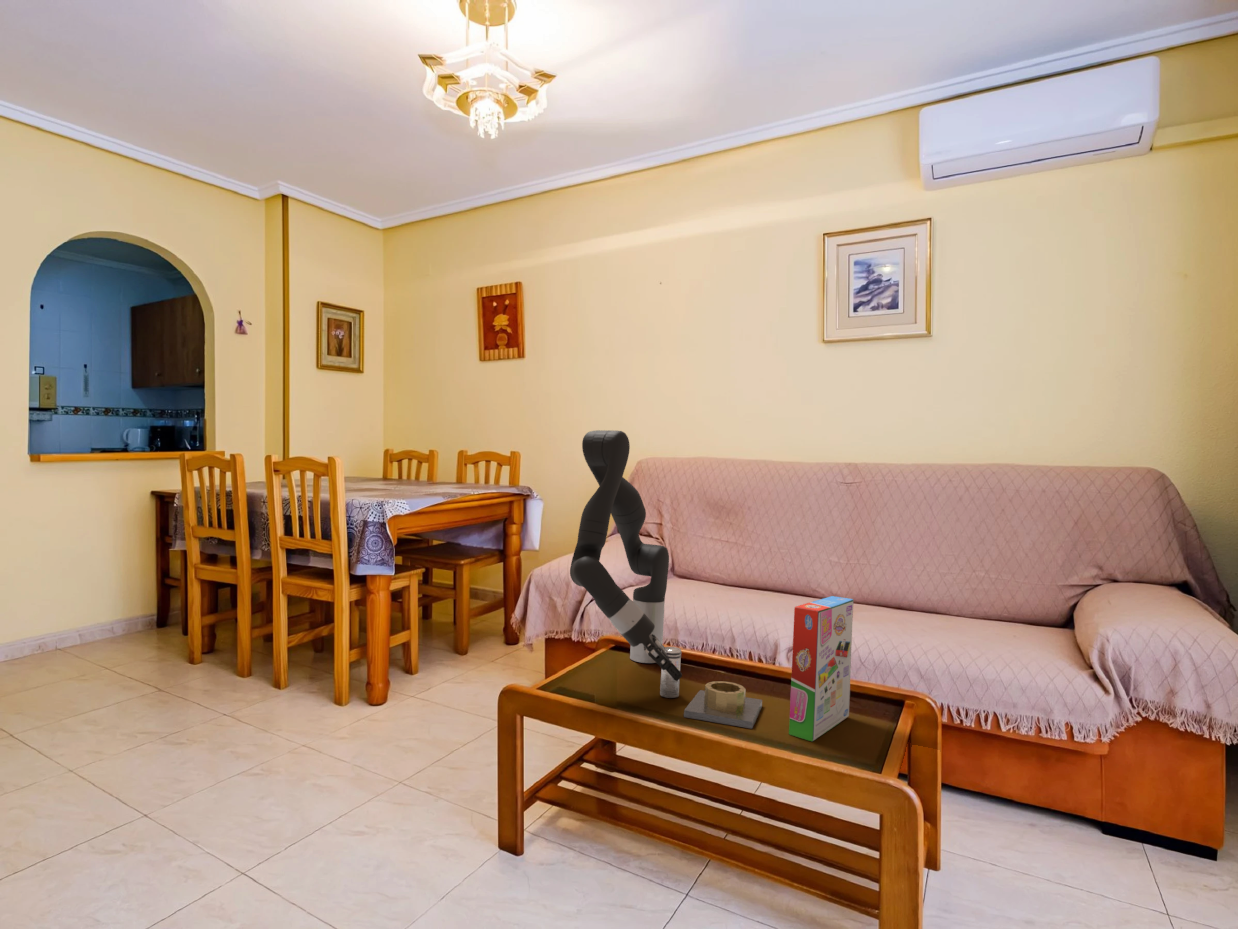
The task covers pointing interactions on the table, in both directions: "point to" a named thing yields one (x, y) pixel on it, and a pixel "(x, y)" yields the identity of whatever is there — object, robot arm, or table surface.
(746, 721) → the tan pot on tray
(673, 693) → the piston
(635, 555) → the robot arm
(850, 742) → the table surface
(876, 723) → the table surface
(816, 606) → the game box
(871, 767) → the table surface
